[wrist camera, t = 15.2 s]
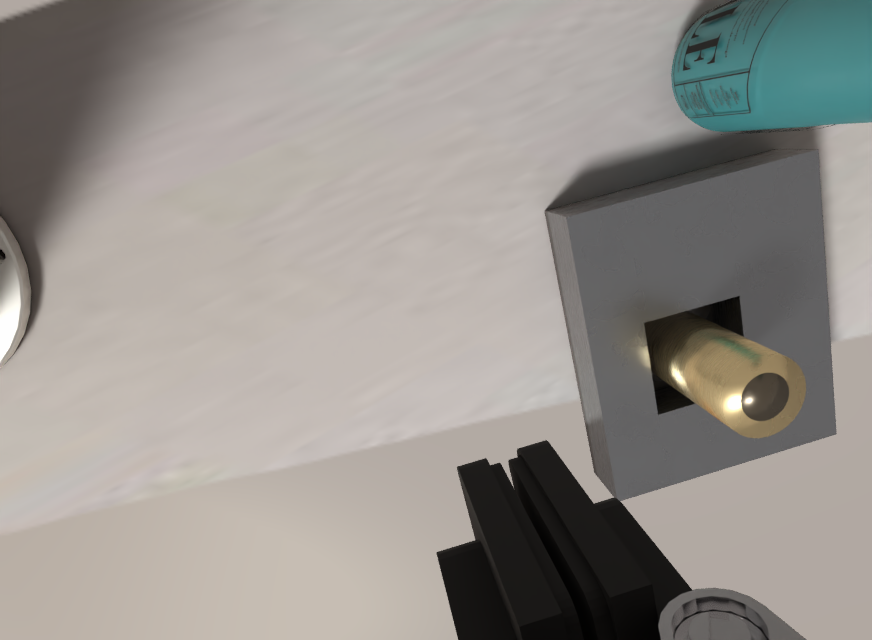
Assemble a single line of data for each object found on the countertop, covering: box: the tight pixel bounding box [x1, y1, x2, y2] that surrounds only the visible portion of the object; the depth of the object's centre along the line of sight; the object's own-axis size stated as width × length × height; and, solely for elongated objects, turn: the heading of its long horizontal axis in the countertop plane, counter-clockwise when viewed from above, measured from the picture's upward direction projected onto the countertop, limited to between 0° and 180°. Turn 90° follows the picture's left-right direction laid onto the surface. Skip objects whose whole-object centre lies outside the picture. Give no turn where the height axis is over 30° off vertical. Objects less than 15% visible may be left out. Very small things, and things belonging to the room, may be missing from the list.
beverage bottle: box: [671, 0, 872, 135], centre depth 26 cm, size 6×7×20 cm
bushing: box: [644, 311, 806, 438], centre depth 34 cm, size 4×4×9 cm
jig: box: [545, 149, 836, 501], centre depth 37 cm, size 14×17×4 cm
